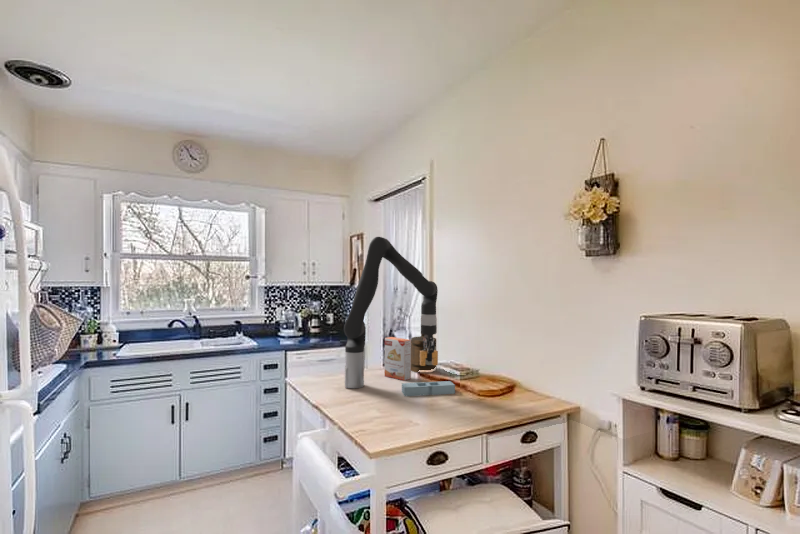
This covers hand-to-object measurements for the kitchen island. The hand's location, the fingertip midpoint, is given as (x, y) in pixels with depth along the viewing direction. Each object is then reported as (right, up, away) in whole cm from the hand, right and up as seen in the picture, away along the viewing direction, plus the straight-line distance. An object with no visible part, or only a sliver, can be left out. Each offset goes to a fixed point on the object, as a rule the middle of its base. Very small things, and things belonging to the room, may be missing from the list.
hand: (428, 360), depth 200 cm
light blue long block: (0, -15, 0) cm, 15 cm away
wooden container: (0, -16, +44) cm, 46 cm away
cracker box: (-15, -15, +26) cm, 34 cm away
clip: (0, -2, 0) cm, 2 cm away
